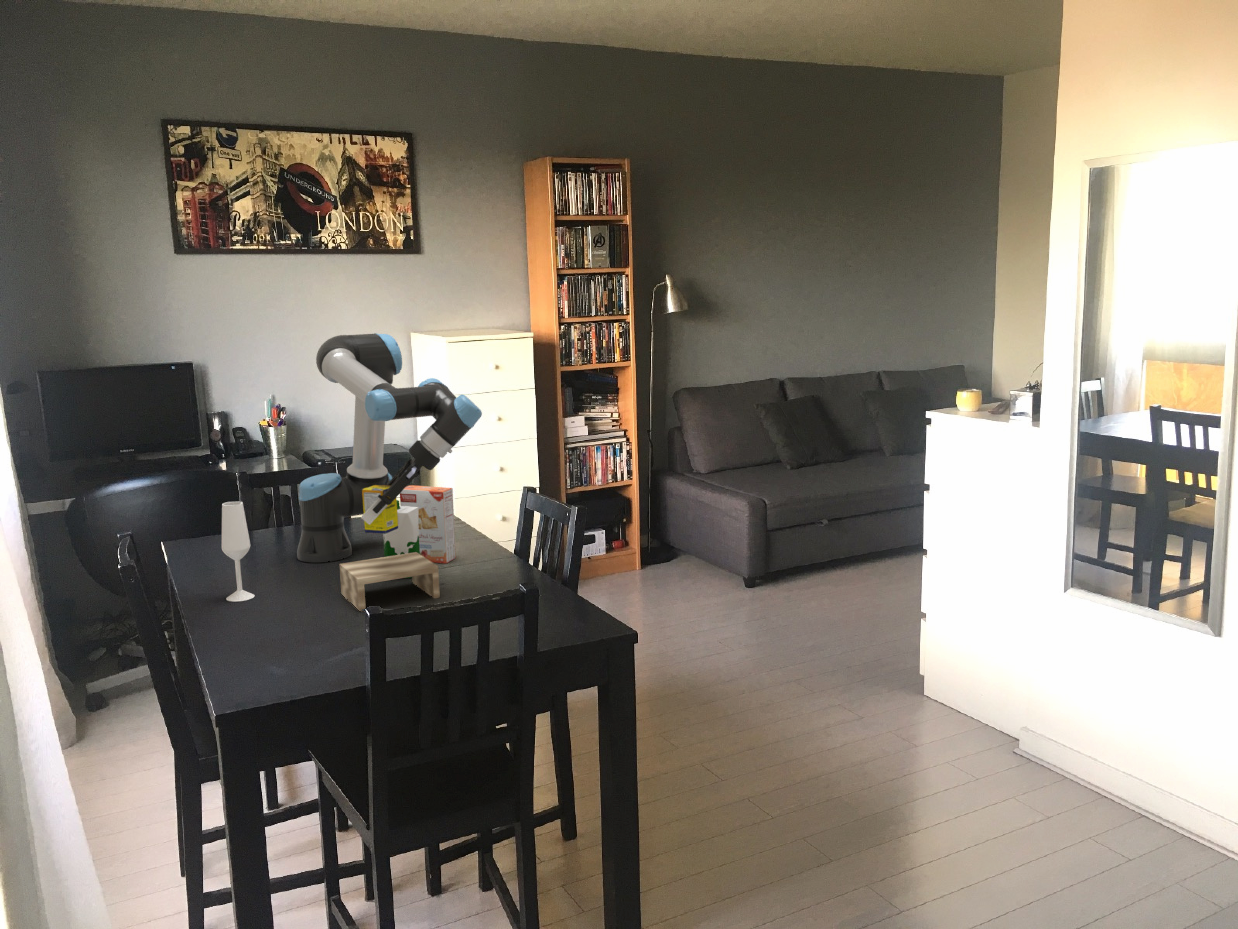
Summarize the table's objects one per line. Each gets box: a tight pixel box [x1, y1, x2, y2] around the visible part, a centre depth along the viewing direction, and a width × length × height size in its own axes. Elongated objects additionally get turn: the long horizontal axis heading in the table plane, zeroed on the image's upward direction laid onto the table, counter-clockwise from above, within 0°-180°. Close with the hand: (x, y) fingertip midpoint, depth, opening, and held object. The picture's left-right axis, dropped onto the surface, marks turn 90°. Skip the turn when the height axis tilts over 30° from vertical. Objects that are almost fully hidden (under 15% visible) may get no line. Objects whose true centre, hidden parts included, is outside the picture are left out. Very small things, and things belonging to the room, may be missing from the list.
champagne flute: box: [221, 501, 255, 602], centre depth 240 cm, size 7×7×24 cm
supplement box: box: [362, 485, 398, 535], centre depth 237 cm, size 6×6×11 cm
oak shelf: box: [338, 552, 440, 612], centre depth 241 cm, size 16×20×8 cm
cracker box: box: [399, 484, 457, 565], centre depth 273 cm, size 14×6×21 cm, turn 71°
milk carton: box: [382, 499, 420, 579], centre depth 259 cm, size 9×9×20 cm
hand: (366, 517), depth 237 cm, fingers closed on supplement box, 8 cm apart
